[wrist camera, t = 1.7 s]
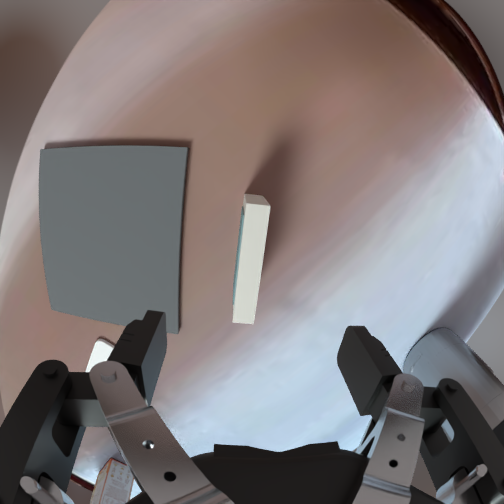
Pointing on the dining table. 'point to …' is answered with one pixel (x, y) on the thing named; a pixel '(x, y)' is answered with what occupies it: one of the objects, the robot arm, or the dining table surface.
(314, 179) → the dining table surface
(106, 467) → the cracker box
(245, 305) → the card box
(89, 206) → the mat
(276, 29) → the dining table surface
